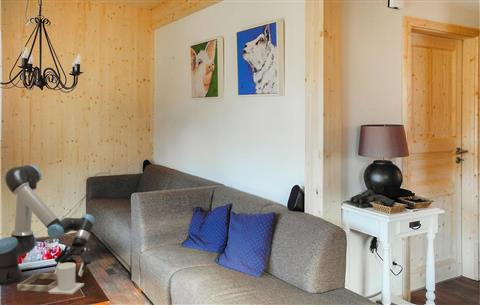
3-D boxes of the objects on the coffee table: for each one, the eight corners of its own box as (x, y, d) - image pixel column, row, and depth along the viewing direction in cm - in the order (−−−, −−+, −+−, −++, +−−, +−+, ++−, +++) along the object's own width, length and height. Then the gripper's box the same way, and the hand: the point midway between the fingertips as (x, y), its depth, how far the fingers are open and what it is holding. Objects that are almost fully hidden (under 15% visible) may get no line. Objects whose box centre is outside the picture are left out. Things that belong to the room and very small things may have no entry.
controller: (71, 275, 243) (71, 259, 242) (59, 271, 250) (58, 255, 249) (78, 273, 247) (77, 257, 246) (65, 269, 253) (64, 253, 253)
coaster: (48, 293, 218) (48, 291, 218) (61, 283, 230) (61, 282, 230) (72, 294, 216) (72, 292, 216) (84, 284, 229) (84, 283, 229)
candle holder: (69, 291, 218) (68, 269, 217) (52, 290, 220) (52, 268, 219) (80, 284, 227) (79, 263, 226) (64, 283, 229) (63, 261, 228)
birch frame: (17, 290, 222) (17, 284, 221) (37, 277, 239) (37, 272, 239) (49, 291, 220) (48, 286, 219) (66, 279, 238) (66, 274, 237)
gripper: (103, 243, 238) (92, 279, 224) (62, 242, 241) (49, 276, 227) (99, 237, 232) (87, 273, 219) (57, 235, 235) (43, 270, 222)
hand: (67, 275), depth 223 cm, fingers open, 13 cm apart
